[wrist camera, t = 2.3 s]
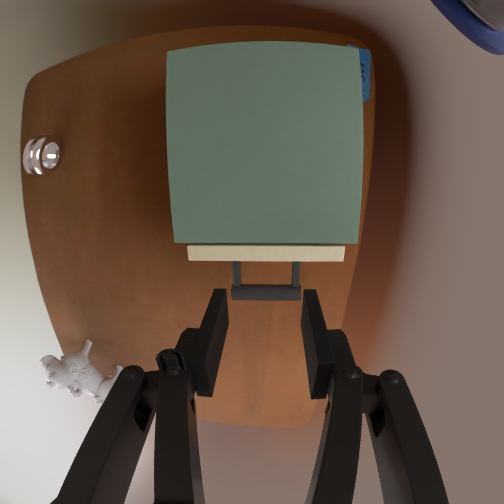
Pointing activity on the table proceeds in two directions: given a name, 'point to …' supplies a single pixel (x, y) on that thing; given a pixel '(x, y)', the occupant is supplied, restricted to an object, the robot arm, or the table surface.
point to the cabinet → (265, 142)
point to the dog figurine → (78, 374)
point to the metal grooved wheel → (42, 155)
